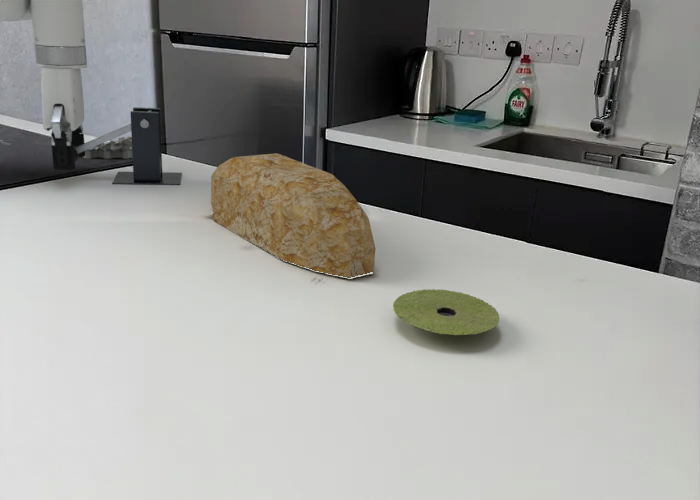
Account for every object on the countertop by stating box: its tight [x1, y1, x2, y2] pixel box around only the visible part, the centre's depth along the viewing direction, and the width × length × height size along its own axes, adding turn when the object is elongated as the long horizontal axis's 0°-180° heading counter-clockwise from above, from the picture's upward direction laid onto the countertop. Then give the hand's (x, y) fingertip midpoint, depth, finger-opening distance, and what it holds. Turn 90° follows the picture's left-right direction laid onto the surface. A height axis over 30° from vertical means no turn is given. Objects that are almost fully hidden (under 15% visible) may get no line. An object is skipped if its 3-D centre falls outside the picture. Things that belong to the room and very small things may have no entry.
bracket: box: [111, 106, 183, 186], centre depth 116 cm, size 11×8×13 cm
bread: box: [210, 152, 376, 278], centre depth 96 cm, size 36×11×10 cm, turn 38°
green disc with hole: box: [392, 288, 501, 336], centre depth 73 cm, size 11×11×2 cm
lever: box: [74, 110, 152, 162], centre depth 114 cm, size 17×3×3 cm, turn 101°
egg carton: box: [82, 136, 133, 160], centre depth 132 cm, size 11×8×4 cm
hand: (70, 162), depth 115 cm, fingers open, 9 cm apart
